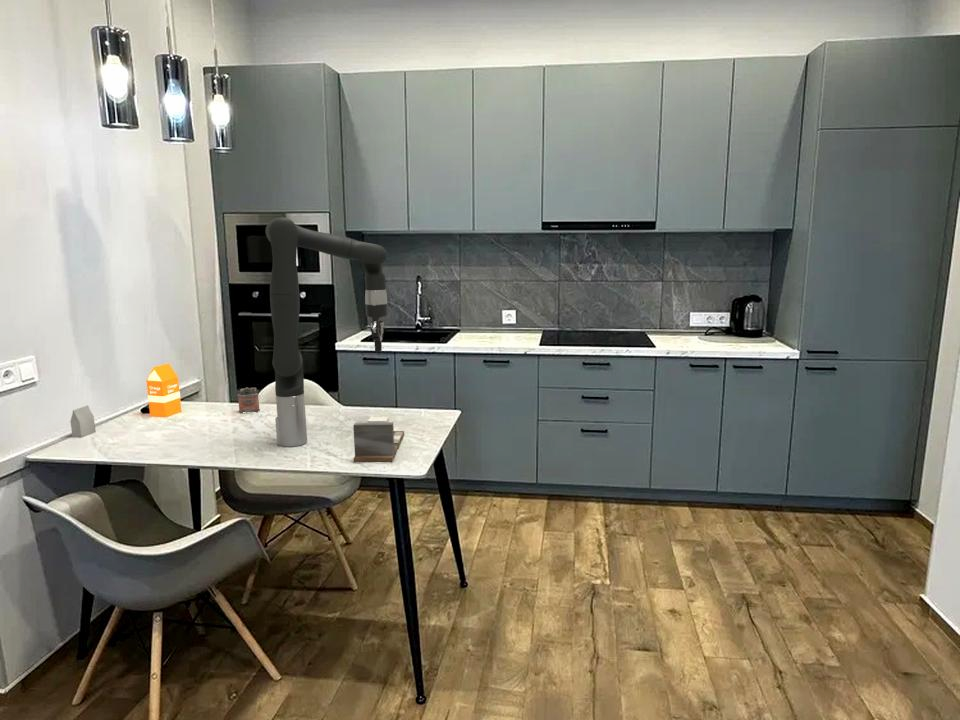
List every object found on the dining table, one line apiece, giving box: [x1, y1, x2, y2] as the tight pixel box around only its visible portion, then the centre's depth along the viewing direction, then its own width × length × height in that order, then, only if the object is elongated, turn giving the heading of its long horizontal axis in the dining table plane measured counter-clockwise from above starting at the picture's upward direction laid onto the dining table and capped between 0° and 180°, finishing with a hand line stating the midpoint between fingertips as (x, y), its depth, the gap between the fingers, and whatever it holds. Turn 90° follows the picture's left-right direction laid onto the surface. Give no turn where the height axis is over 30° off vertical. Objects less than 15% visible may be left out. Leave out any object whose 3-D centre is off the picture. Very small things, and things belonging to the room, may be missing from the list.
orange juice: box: [146, 363, 182, 418], centre depth 260 cm, size 8×9×20 cm
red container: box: [237, 387, 261, 414], centre depth 262 cm, size 8×3×10 cm, turn 101°
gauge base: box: [352, 421, 405, 463], centre depth 216 cm, size 28×12×12 cm, turn 179°
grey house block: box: [69, 405, 96, 439], centre depth 235 cm, size 4×7×10 cm, turn 169°
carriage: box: [367, 416, 398, 444], centre depth 213 cm, size 7×9×9 cm
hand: (378, 351), depth 231 cm, fingers closed
